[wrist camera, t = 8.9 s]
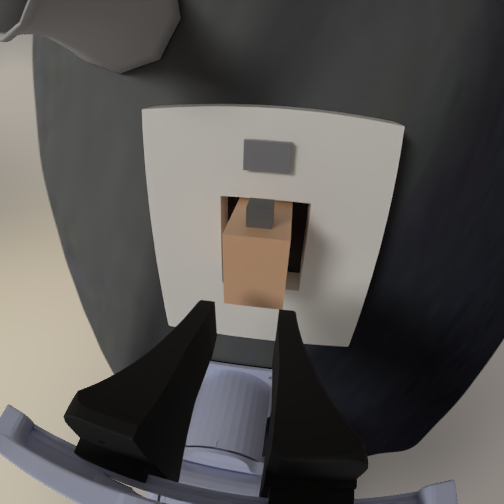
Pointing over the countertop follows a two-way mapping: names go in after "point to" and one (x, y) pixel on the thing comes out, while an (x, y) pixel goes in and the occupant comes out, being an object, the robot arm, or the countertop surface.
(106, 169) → the countertop surface
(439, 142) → the countertop surface
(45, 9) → the flask
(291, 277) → the socket
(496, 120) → the countertop surface
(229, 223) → the plug
